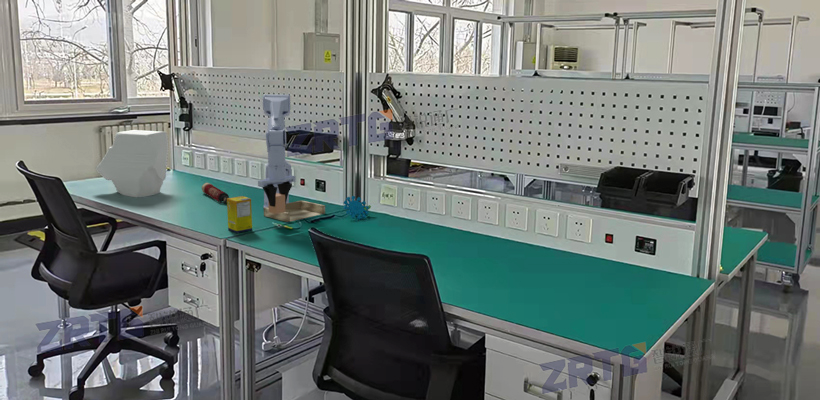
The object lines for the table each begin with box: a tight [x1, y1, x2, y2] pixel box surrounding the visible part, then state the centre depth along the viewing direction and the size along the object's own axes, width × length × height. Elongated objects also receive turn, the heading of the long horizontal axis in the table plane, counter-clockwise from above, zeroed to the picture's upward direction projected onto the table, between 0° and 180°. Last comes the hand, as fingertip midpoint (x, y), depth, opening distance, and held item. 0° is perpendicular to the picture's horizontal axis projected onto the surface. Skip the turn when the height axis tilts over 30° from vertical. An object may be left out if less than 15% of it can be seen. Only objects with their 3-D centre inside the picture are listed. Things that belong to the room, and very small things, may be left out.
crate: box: [263, 199, 326, 223], centre depth 234 cm, size 13×18×4 cm
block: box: [268, 193, 285, 214], centre depth 218 cm, size 4×4×6 cm
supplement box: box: [226, 195, 253, 234], centre depth 212 cm, size 6×6×11 cm
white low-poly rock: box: [95, 129, 169, 198], centre depth 269 cm, size 21×27×26 cm
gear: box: [342, 195, 372, 220], centre depth 235 cm, size 11×6×10 cm
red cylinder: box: [201, 182, 230, 204], centre depth 262 cm, size 5×5×30 cm
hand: (277, 204), depth 218 cm, fingers closed on block, 4 cm apart
